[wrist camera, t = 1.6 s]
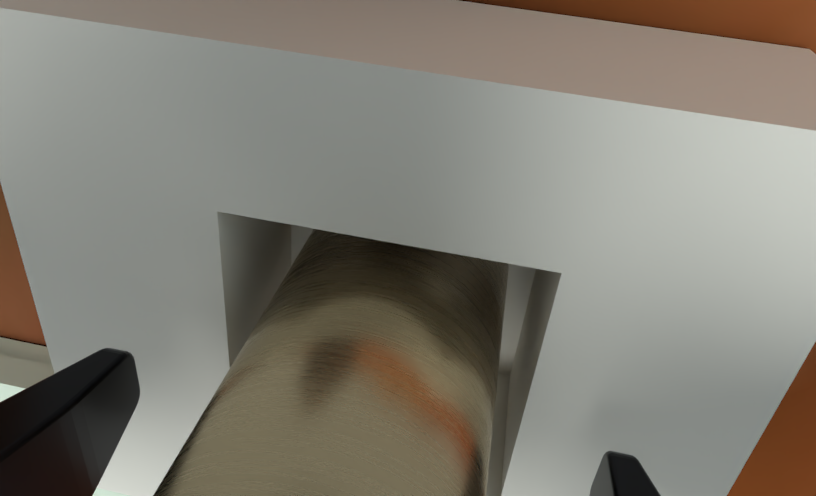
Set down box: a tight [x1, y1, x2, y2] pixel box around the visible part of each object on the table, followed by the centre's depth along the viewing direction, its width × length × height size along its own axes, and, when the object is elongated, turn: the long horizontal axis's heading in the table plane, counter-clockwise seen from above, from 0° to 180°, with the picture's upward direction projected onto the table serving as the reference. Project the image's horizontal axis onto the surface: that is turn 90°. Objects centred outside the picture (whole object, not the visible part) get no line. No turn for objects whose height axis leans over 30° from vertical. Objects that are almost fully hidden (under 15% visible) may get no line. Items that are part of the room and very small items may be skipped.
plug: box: [153, 229, 508, 496], centre depth 10 cm, size 4×4×8 cm
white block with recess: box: [0, 0, 816, 496], centre depth 12 cm, size 12×10×4 cm
